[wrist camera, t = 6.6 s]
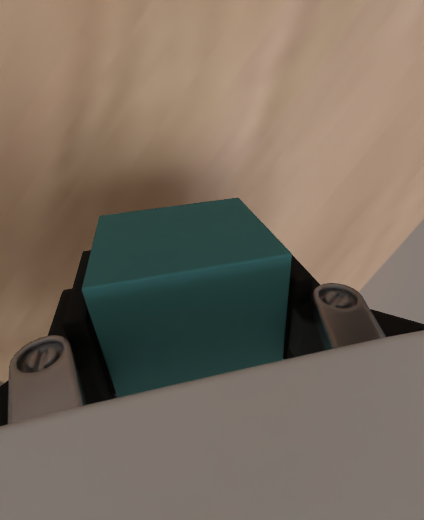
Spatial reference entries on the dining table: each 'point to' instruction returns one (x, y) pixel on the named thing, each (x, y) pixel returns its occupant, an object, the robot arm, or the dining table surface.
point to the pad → (186, 293)
